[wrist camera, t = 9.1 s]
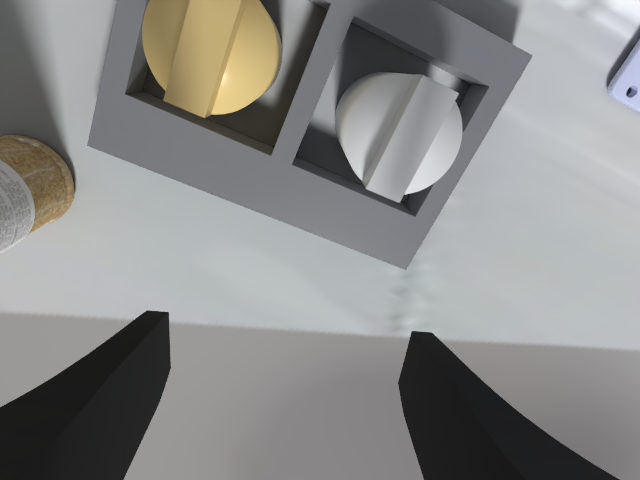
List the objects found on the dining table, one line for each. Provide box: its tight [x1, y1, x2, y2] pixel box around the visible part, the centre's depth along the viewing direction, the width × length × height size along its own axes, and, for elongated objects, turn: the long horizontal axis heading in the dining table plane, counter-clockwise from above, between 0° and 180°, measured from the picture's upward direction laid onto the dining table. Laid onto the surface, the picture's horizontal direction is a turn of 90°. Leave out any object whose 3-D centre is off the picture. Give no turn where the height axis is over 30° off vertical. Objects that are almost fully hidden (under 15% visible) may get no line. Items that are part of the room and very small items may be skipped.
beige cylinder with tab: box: [142, 0, 282, 118], centre depth 15 cm, size 4×4×6 cm
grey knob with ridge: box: [335, 72, 463, 203], centre depth 17 cm, size 4×4×6 cm
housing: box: [87, 0, 532, 270], centre depth 18 cm, size 16×11×2 cm
